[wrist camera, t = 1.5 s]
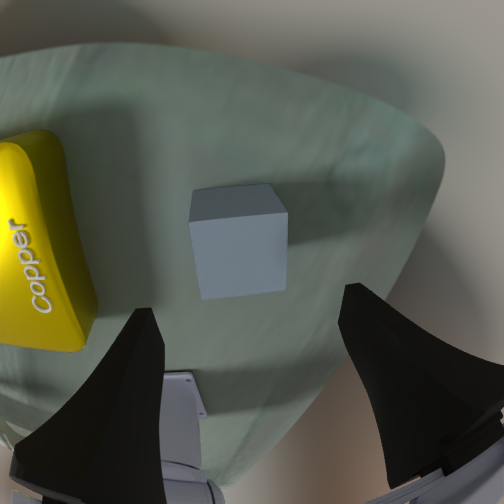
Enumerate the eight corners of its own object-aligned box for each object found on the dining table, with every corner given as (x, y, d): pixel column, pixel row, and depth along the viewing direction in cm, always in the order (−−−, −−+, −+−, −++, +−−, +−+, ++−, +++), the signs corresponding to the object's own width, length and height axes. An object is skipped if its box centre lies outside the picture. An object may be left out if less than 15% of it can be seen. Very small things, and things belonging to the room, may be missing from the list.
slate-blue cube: (269, 248, 19) (285, 290, 15) (201, 255, 19) (201, 300, 15) (268, 183, 17) (287, 212, 13) (192, 190, 16) (188, 222, 13)
